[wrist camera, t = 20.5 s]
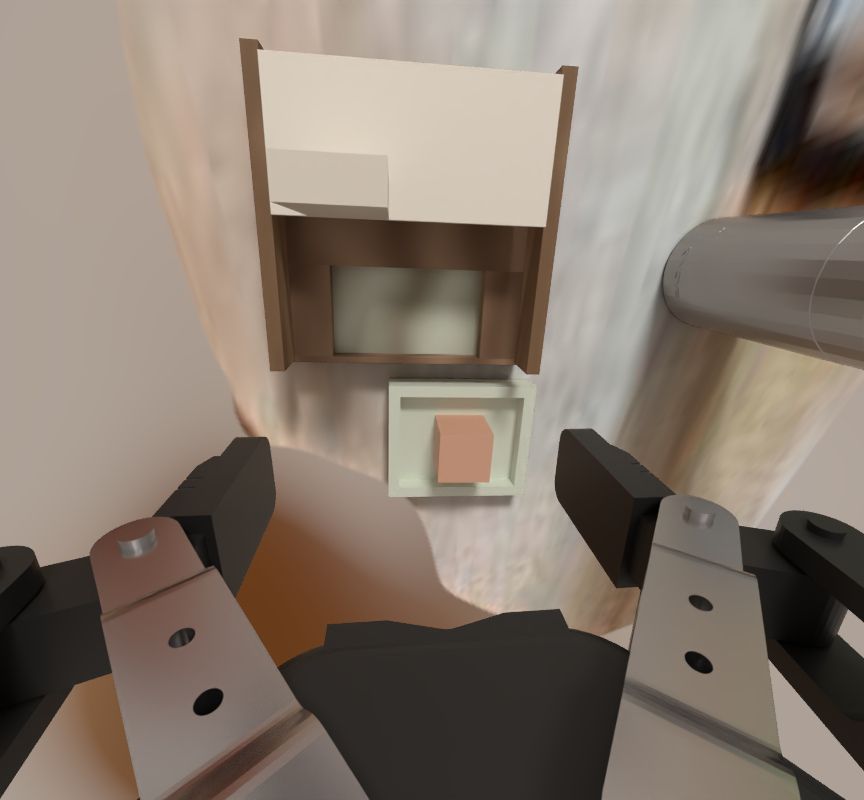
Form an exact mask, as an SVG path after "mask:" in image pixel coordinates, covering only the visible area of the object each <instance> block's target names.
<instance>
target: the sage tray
mask: <svg viewBox="0 0 864 800" xmlns="http://www.w3.org/2000/svg"><path fill="white" fill-rule="evenodd" d="M536 390H537V387H536V386H535V385H534V384H533V383H532V382H531V381H530V380H507V379H417V378H389V481H388V493H389V494H388V497H440V496H504V495H523V492H524V484H525V477H526V469H527V461H528V453H529V445H530V437H531V429H532V422H533V414H534V406H535V398H536ZM435 415H484V417H485V419H486V421H487V423H488V425H489V426H490V428H491V430H492V432H493V434H494V441H493V451H492V461H491V470H490V480H489V482H473V483H438V481H437V476H436V471H435V466H434V460H433V450H434V430H435Z"/></svg>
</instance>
